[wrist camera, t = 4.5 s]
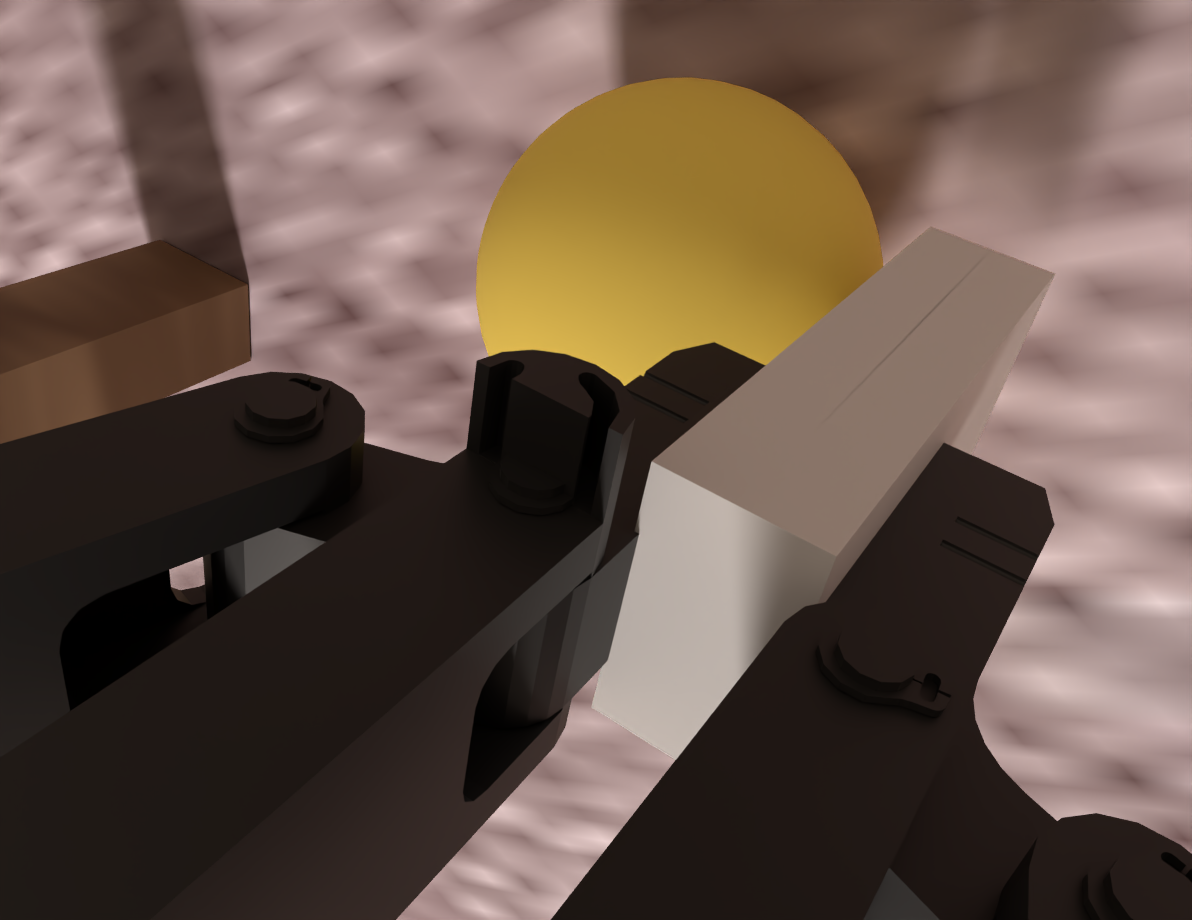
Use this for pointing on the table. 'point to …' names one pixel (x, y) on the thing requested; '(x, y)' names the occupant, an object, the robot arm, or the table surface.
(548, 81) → the table surface
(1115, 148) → the table surface
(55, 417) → the bridge
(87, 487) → the robot arm
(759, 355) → the ball
